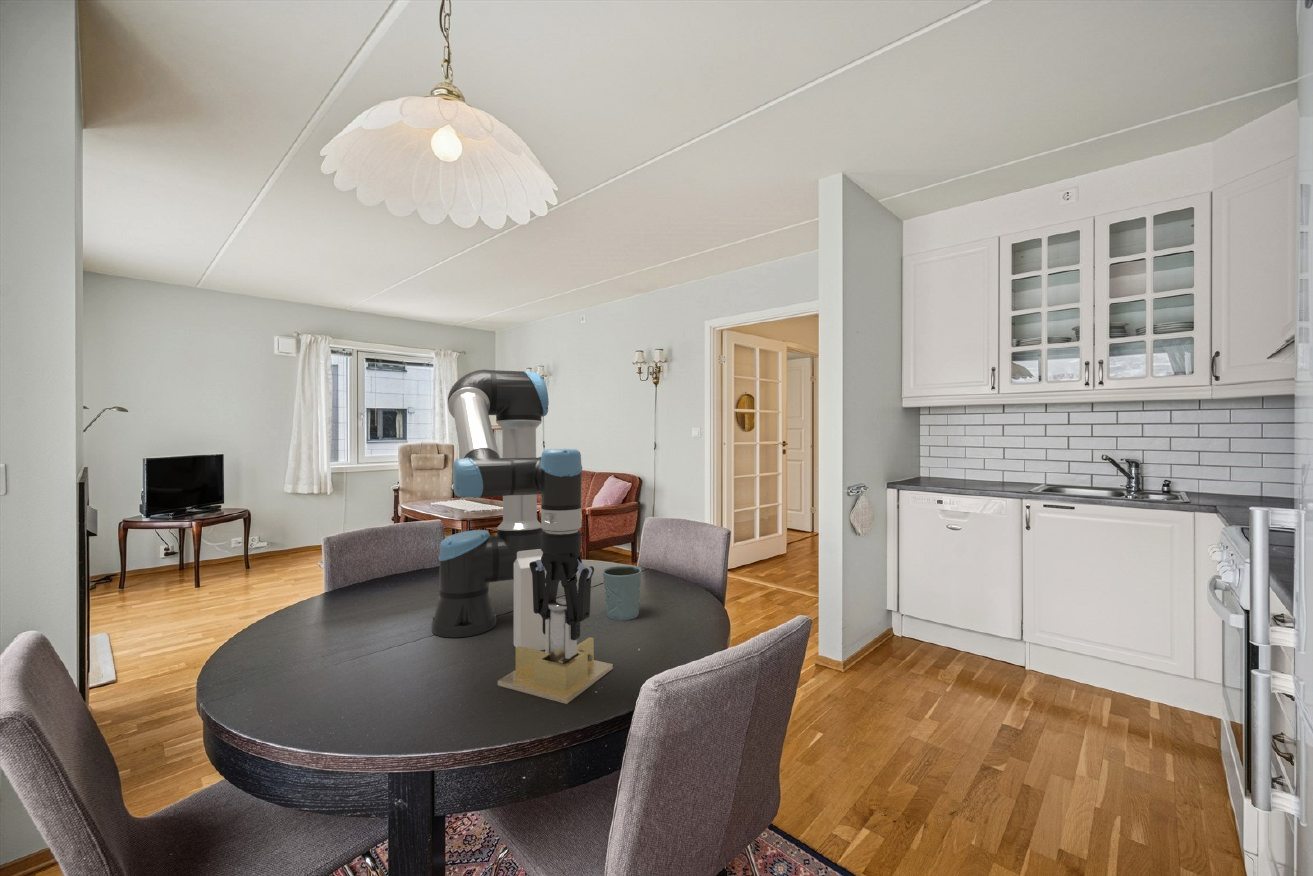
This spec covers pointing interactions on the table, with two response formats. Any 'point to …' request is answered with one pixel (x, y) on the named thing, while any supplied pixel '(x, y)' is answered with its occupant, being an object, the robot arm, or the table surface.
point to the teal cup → (622, 592)
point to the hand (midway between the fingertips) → (561, 653)
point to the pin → (558, 630)
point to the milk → (526, 603)
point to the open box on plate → (555, 673)
